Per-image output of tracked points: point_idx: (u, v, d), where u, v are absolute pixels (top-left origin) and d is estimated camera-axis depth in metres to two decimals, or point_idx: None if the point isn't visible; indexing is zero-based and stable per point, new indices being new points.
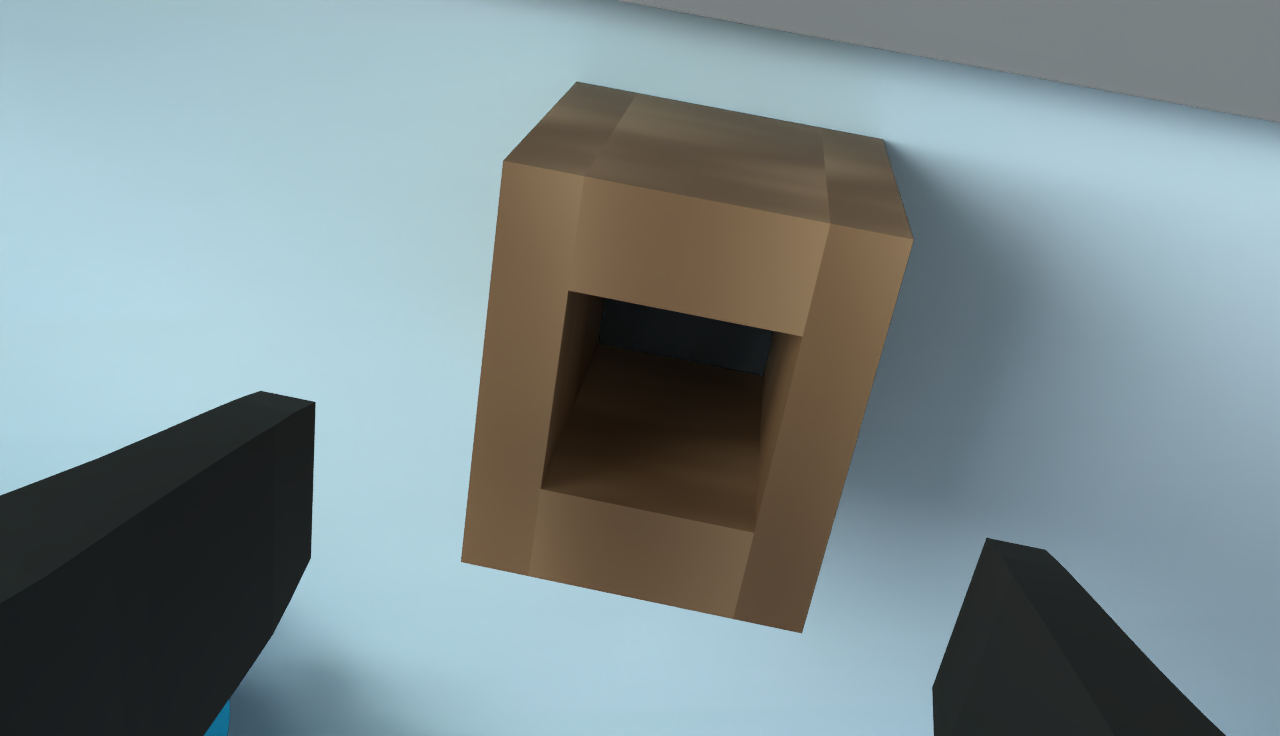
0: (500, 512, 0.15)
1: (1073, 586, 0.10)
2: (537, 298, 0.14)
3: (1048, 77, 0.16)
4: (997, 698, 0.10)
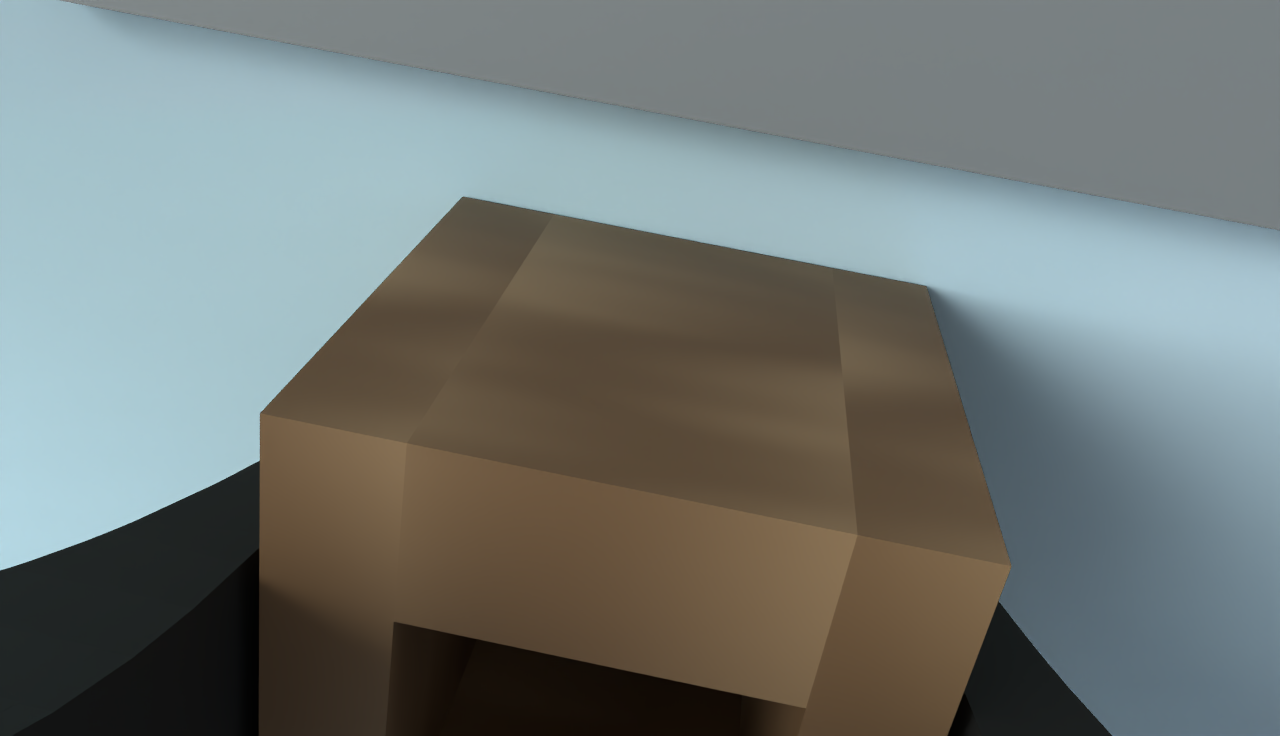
0: None
1: None
2: (341, 632, 0.08)
3: (1199, 210, 0.10)
4: None
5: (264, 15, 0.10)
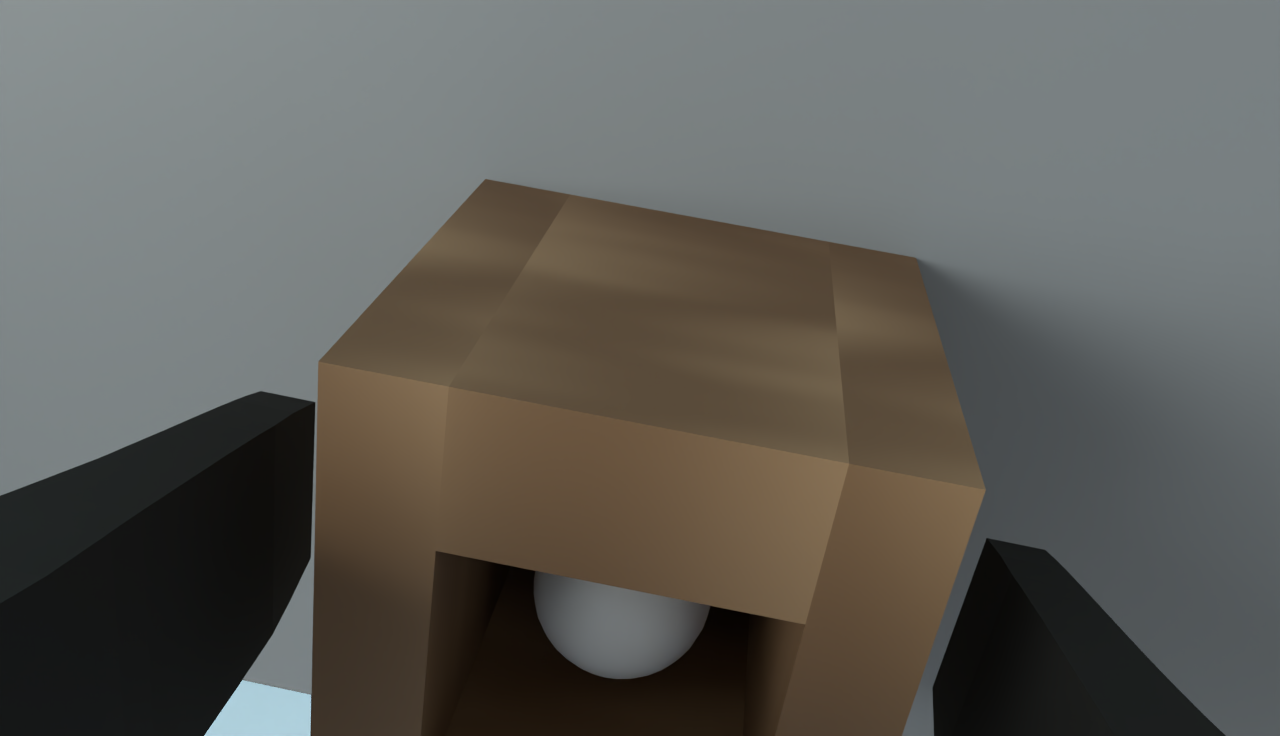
0: None
1: (1073, 586, 0.10)
2: (388, 562, 0.09)
3: None
4: (997, 698, 0.10)
5: None
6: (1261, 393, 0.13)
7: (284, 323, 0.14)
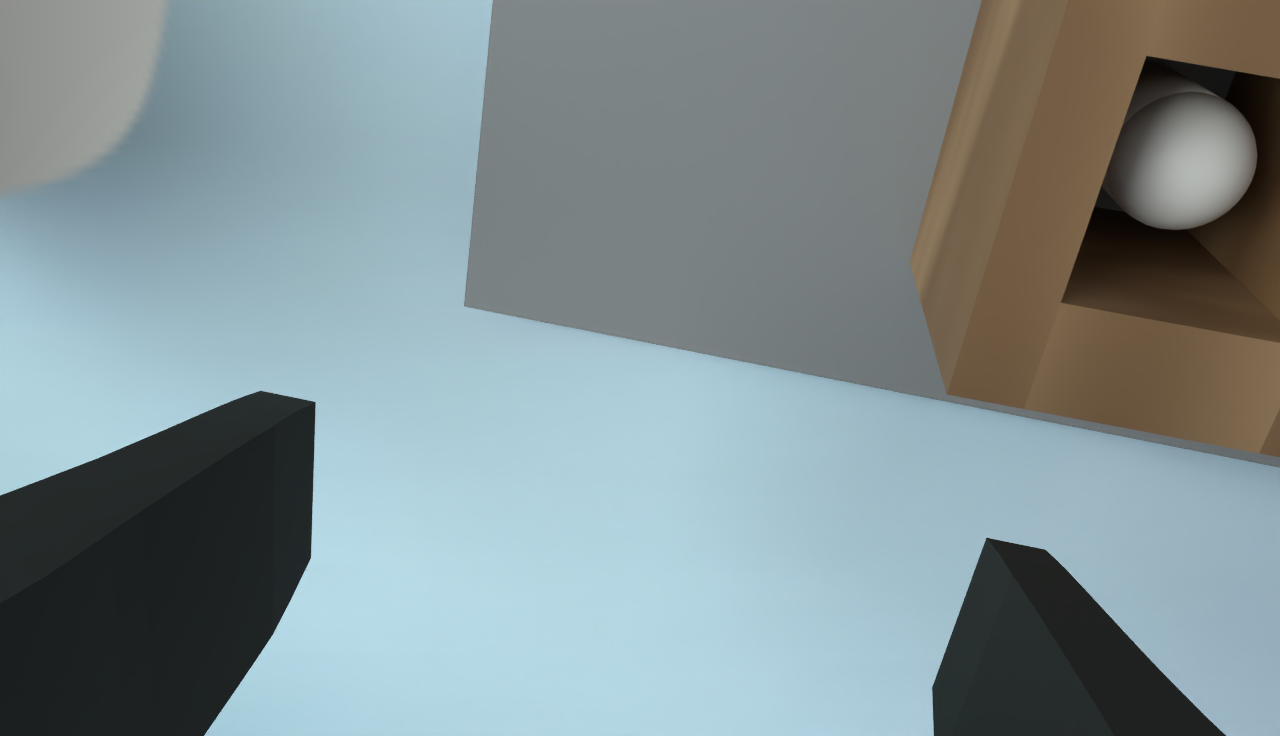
0: (1006, 332, 0.14)
1: (1073, 586, 0.10)
2: (1106, 67, 0.12)
3: (1090, 428, 0.20)
4: (997, 698, 0.10)
5: (613, 324, 0.20)
6: None
7: (817, 16, 0.17)
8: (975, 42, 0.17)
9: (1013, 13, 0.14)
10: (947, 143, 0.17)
